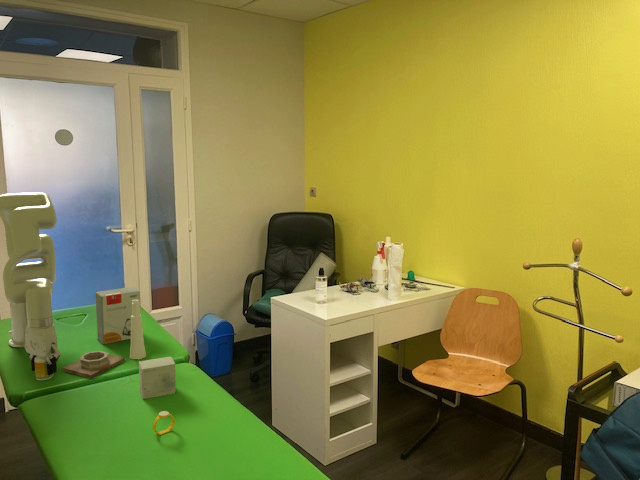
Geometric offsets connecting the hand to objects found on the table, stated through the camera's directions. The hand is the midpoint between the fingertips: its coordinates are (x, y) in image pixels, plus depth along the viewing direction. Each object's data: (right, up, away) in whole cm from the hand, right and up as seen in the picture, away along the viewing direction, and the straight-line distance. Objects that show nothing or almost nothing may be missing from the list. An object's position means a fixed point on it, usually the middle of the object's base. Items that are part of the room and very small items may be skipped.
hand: (44, 371), depth 178 cm
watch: (+50, -10, -30) cm, 59 cm away
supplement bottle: (0, -2, 0) cm, 2 cm away
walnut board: (+13, -1, +10) cm, 16 cm away
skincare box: (+41, -5, -8) cm, 42 cm away
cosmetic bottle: (+25, +1, +19) cm, 31 cm away
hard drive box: (+12, +4, +36) cm, 38 cm away
